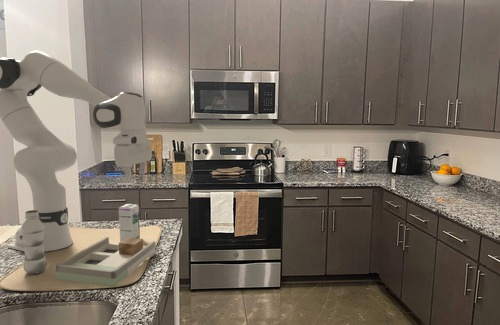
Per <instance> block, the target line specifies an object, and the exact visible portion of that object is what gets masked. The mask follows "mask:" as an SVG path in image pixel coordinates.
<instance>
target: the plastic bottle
mask: <svg viewBox="0 0 500 325" xmlns="http://www.w3.org/2000/svg"><path fill="white" fill-rule="evenodd" d="M24 214H25V215H24V218H25V221H24V222H23V224H22V225H21V226H20V227H21V232H22V236H23V241H24V248H25V251H24V260H23V269H24V272H25V273H27V274H30V275H32V274H35V275H36V274H39V273H42V272H44V271H45V270H46V268H47V266H48V264H47V258H46V255H45V252H44V247H43V236H44V225H43V223H42V222H41V221H40V220H39V219H38V217H39V215H38V211H37V210H34V209H33V210H32V209H31V210H27V211H25V212H24Z"/></svg>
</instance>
